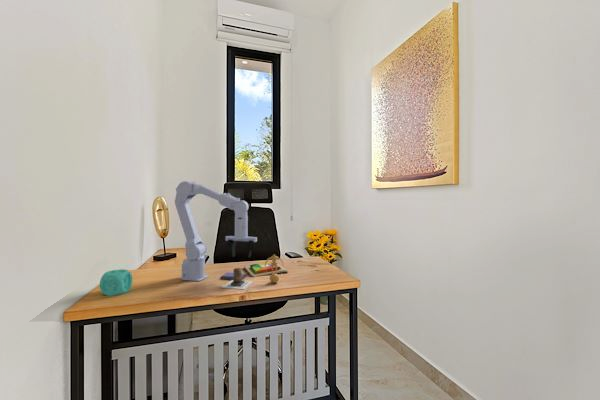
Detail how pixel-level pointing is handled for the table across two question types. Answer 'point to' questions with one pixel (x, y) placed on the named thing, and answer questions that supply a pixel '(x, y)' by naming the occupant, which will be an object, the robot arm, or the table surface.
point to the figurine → (275, 277)
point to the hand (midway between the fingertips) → (241, 257)
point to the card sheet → (228, 285)
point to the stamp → (237, 277)
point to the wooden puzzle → (263, 269)
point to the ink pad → (231, 276)
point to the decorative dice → (116, 282)
